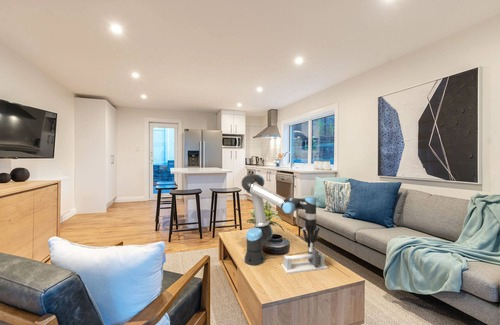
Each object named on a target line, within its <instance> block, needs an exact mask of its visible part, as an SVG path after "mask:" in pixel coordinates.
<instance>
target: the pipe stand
mask: <svg viewBox="0 0 500 325" xmlns="http://www.w3.org/2000/svg"><path fill="white" fill-rule="evenodd" d="M325 257H326V256H325V254H323V252H321V251H318V267H314V266H313V265H312V264H311V263H310V262H309V261H308V259H310V258H313V254H308V253H306V254H305V253H304V254H298V255H297V254H295V255H288V254H284V255H283V263H281V264H280V267H282V269H283V271H285V273H286V274H287V275H291V274H297V273H306V272H314V271H321V270H328V269H329V266H327V265H326V262H325V261H326V260H325ZM299 260H303V261H299ZM304 260H305V261H304ZM292 261H294V262H292ZM295 261H296V262H295Z"/></svg>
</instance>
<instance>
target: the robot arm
mask: <svg viewBox="0 0 500 325" xmlns="http://www.w3.org/2000/svg"><path fill="white" fill-rule="evenodd" d="M264 185H265V178H264V177H263V176H262V175H261V174H258V173H257V174H256V173H255V174H249V175H244V177H243V178H242V180H241V186H242V188H243V190H244V191H246V192H248V193H250V195H251V199H252V206H253V211H254V212H253V213H254V216H255V217H254V219H255V224H254V227H252V228H249V229H247V231H246V234H245V235H246V236H245V237H246V252H245V256H244V262H245V264H247V265H249V266H260V265H262V264H264V263H265V256H264V251H263V244H265V243H266V242H267V241H269V240H270V239H271V238H272V237H273V234H274V233H273V232H274V231H273V228H272V226H270V223H269V222H268V221H267V215H266V210H265V203H264V201H265V200H266V201H267V202H269V203H271V204H272V205H275V206H277V207H279V208H280V209H281V210H282V211H283V213H284V214H289V215H290V214H292V213H294V212H296V211H297V210H303V211H304V210H305V212H304V213H305V215H304V218H305V219H304V220H305V222H304V224H305V225H304V227H303V228H301V230H302V234H303V237H304V241H305V243H307V248H308V247H309V251H310V252H312V247H314V246H315V245H314V244H315V243H316V242H317V238H318V236H319V231H320V228H319V227H318V226H317V199H316V198H317V197H315V196H310V195H309V196H305V198H297V197H296V198H295V197H290V198H289V199H287V198H286V197H284V196H282V195H280V194H278V193H276V192H274V191H272V190H270V189H268V188H267V187H265V186H264Z"/></svg>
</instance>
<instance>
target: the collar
mask: <svg viewBox="0 0 500 325" xmlns="http://www.w3.org/2000/svg"><path fill="white" fill-rule="evenodd" d="M318 252H319V249H316V248H315V247H314V246H313V247H312V252H310V251H309V247H308V246H307V254H313V258H310V259H307V261H309V262H310V263H311V264H312V265H313V266H314V267H318Z"/></svg>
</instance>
